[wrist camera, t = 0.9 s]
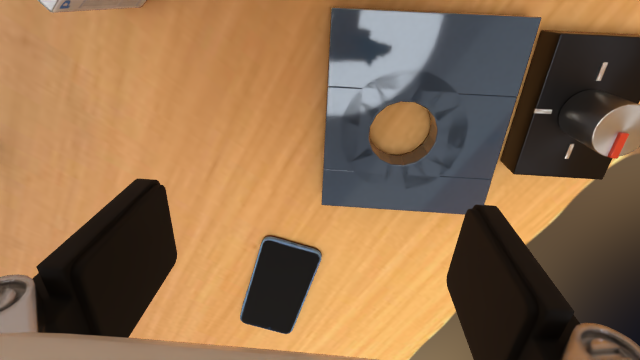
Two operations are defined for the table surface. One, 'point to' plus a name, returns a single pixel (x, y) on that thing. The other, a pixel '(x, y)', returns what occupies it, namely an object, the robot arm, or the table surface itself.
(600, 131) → the rotary control knob
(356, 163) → the blue-grey patterned panel
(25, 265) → the table surface
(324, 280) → the table surface
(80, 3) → the light bulb box
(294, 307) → the smartphone
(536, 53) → the black dial plate
